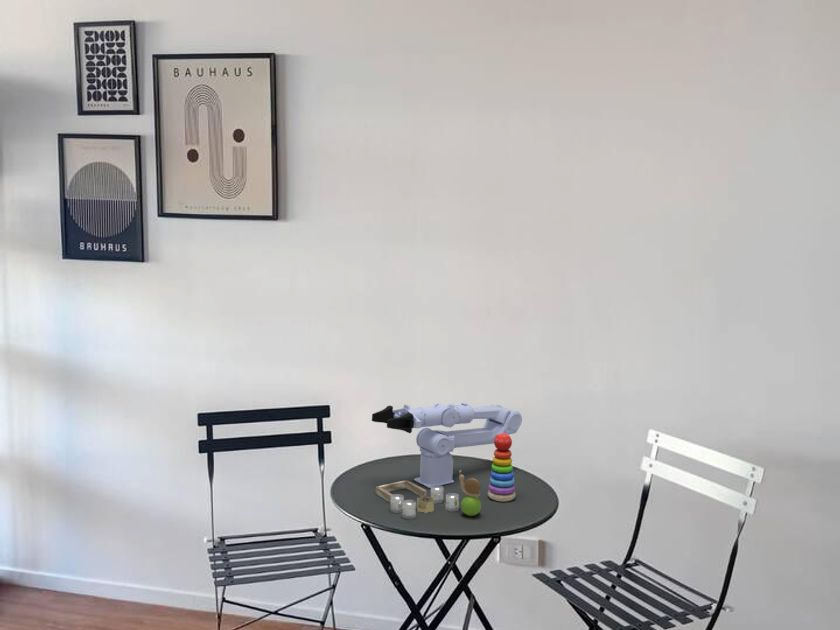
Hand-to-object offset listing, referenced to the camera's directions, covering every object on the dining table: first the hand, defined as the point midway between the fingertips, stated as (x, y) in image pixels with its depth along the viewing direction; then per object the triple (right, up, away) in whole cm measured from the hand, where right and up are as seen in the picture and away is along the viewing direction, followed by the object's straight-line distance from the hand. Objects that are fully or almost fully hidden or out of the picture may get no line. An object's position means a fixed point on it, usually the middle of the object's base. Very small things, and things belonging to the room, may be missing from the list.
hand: (379, 420), depth 226 cm
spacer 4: (+20, -24, -6) cm, 31 cm away
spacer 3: (+16, -23, 0) cm, 28 cm away
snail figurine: (+24, -24, -9) cm, 36 cm away
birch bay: (+6, -22, +3) cm, 23 cm away
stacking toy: (+34, -23, +4) cm, 42 cm away
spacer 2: (+8, -24, -11) cm, 28 cm away
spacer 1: (+5, -23, -8) cm, 25 cm away
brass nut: (+13, -24, -6) cm, 28 cm away
